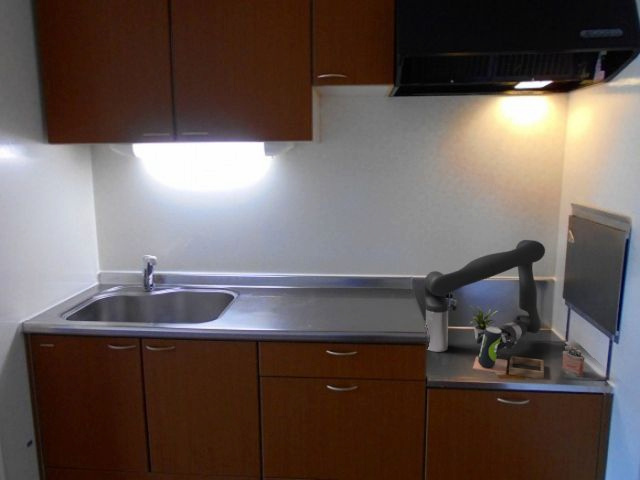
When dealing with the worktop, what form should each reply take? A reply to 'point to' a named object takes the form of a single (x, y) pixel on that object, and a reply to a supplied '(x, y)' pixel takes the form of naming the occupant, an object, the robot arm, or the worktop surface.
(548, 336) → the worktop surface
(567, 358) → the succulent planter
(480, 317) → the house plant
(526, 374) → the wooden tray
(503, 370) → the trivet
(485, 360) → the beverage can
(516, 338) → the robot arm
